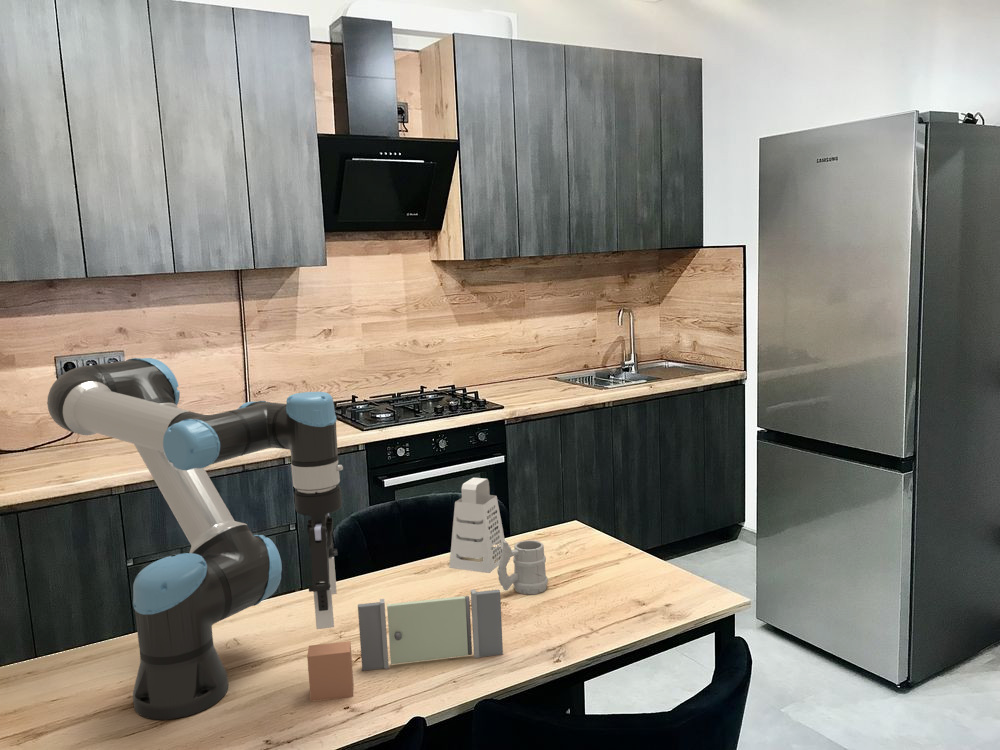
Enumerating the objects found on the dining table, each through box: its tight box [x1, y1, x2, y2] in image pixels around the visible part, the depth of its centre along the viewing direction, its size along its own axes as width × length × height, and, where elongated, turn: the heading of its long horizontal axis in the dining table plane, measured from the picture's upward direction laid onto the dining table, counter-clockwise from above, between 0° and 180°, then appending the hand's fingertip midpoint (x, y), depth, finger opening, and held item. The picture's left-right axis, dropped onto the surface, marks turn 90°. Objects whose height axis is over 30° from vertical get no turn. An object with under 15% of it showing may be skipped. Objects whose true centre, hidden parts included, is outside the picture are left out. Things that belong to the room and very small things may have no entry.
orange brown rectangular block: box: [307, 640, 355, 703], centre depth 140 cm, size 7×4×8 cm, turn 99°
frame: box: [357, 589, 504, 672], centre depth 149 cm, size 26×2×12 cm, turn 99°
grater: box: [448, 477, 505, 574], centre depth 196 cm, size 10×10×20 cm
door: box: [386, 595, 473, 665], centre depth 149 cm, size 15×2×11 cm, turn 99°
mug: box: [496, 539, 549, 596], centre depth 179 cm, size 8×12×12 cm, turn 121°
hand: (327, 610), depth 139 cm, fingers open, 13 cm apart
